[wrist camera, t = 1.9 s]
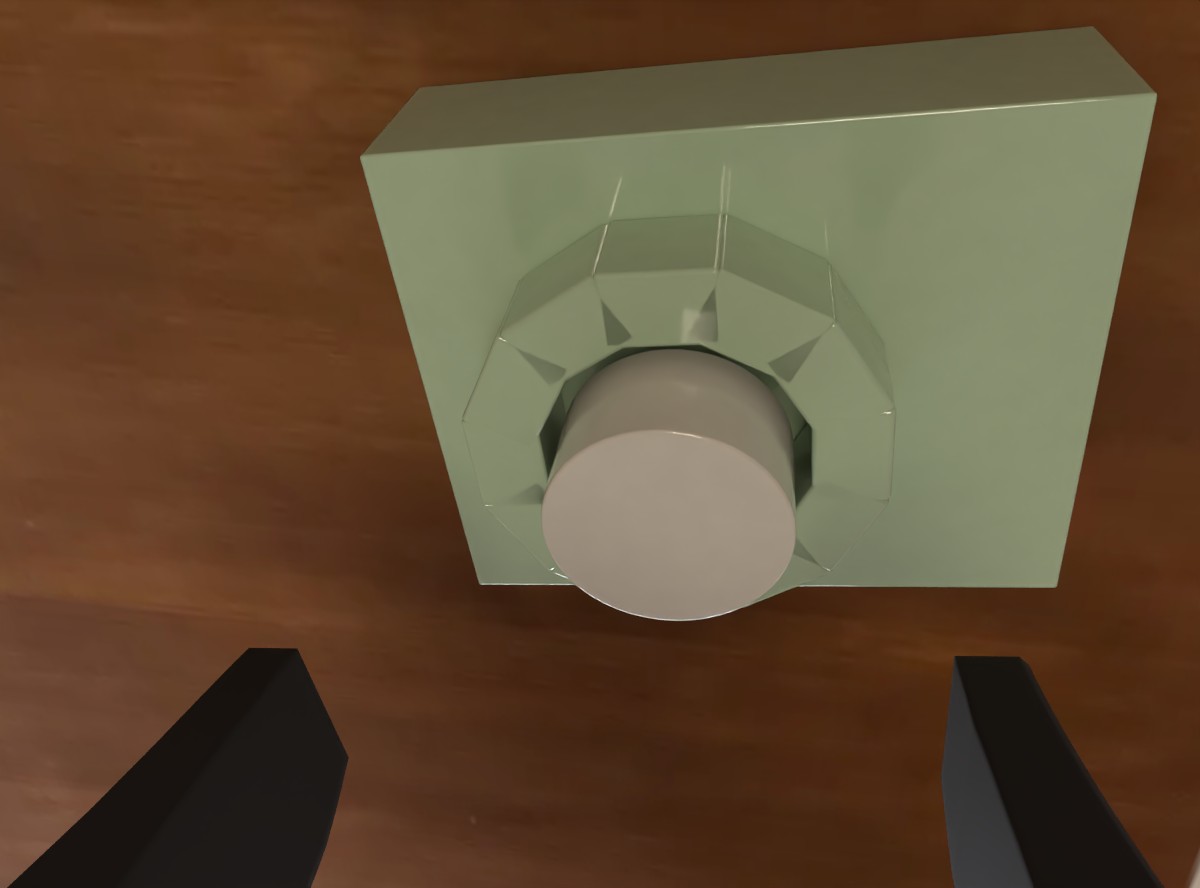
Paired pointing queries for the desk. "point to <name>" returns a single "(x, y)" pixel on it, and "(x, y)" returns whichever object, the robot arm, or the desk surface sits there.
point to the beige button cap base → (785, 281)
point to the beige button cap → (673, 487)
